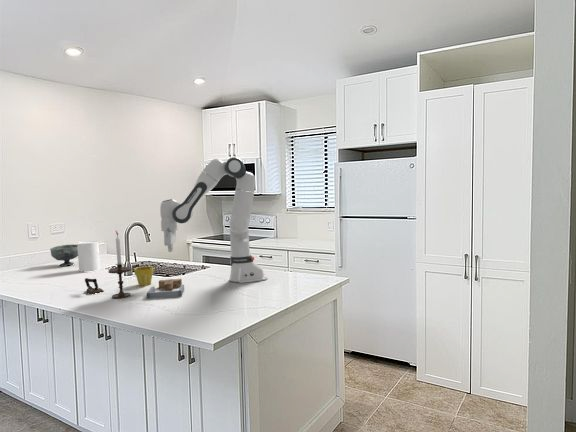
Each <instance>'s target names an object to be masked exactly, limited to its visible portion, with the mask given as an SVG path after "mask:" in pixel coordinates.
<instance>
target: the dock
mask: <svg viewBox="0 0 576 432" xmlns="http://www.w3.org/2000/svg"><path fill="white" fill-rule="evenodd" d="M178 288H179V289H178V290H177V289H176V290H172V291H164V290H163V291H156V289H155V286H151V287H150V288H149V290H148V291H147V292H146V300H152V299H165V298H180V297H183V295H184V292H185V284H182V285H181V286H180V287H178Z"/></svg>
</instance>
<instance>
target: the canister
mask: <svg viewBox="0 0 576 432" xmlns="http://www.w3.org/2000/svg"><path fill="white" fill-rule="evenodd" d="M76 245H77V248H78V256H77V260H78V272H79V271H93V272H95V271H94V270H98V271H100V270H101V263H100V262H101V260H100V258H101V257H100V249H99V247H100V245H99V241H98V240H88V241H80V242H77V243H76ZM99 269H100V270H99Z"/></svg>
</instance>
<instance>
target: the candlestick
mask: <svg viewBox="0 0 576 432" xmlns="http://www.w3.org/2000/svg"><path fill="white" fill-rule="evenodd" d="M115 232H116V233H115V234H116V238H115V246H116V247H115V248H116V260H117V263H115V265H116V266H117V267H113V268H109V269H108V273H109V274H117V275H118V281H117V284H118V285H119V286H118V288H119V292H118V293H115V294H112V295H111V298H112V299H113V300H115V299H117V300H119V299H120V300H121V299H127V298H129V297H131V296H132V295H131V294H132V293H131V292H124V291H123V290H124V289H123V288H124V281H123V278H122V277H123V276H122V274H124V273H127V272H130V271H132V267H129V266H123V263H122V254H121V252H122V251H121V238H120V237H119V233H118V231H117V230H115Z"/></svg>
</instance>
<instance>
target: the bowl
mask: <svg viewBox="0 0 576 432" xmlns="http://www.w3.org/2000/svg"><path fill="white" fill-rule="evenodd" d="M49 250H50V255H51V258H53V259H54V260H56V261H62V262H63V263H60V264H59V266H60V265H61V266H60V267H68V266H67V265H73V264H74V265H75V263H74V262H73V261H70V260H73V259H75V258H78V248H77V244H63V245H57V246H53V247H51V248H50V249H49ZM74 265H73V266H74Z"/></svg>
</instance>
